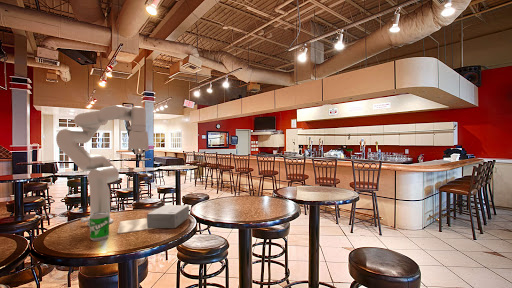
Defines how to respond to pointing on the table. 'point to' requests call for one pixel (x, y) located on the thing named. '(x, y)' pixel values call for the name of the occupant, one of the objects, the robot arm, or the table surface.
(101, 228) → the soda can
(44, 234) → the table surface
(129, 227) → the board
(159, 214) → the hard drive box
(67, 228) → the table surface
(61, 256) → the table surface
